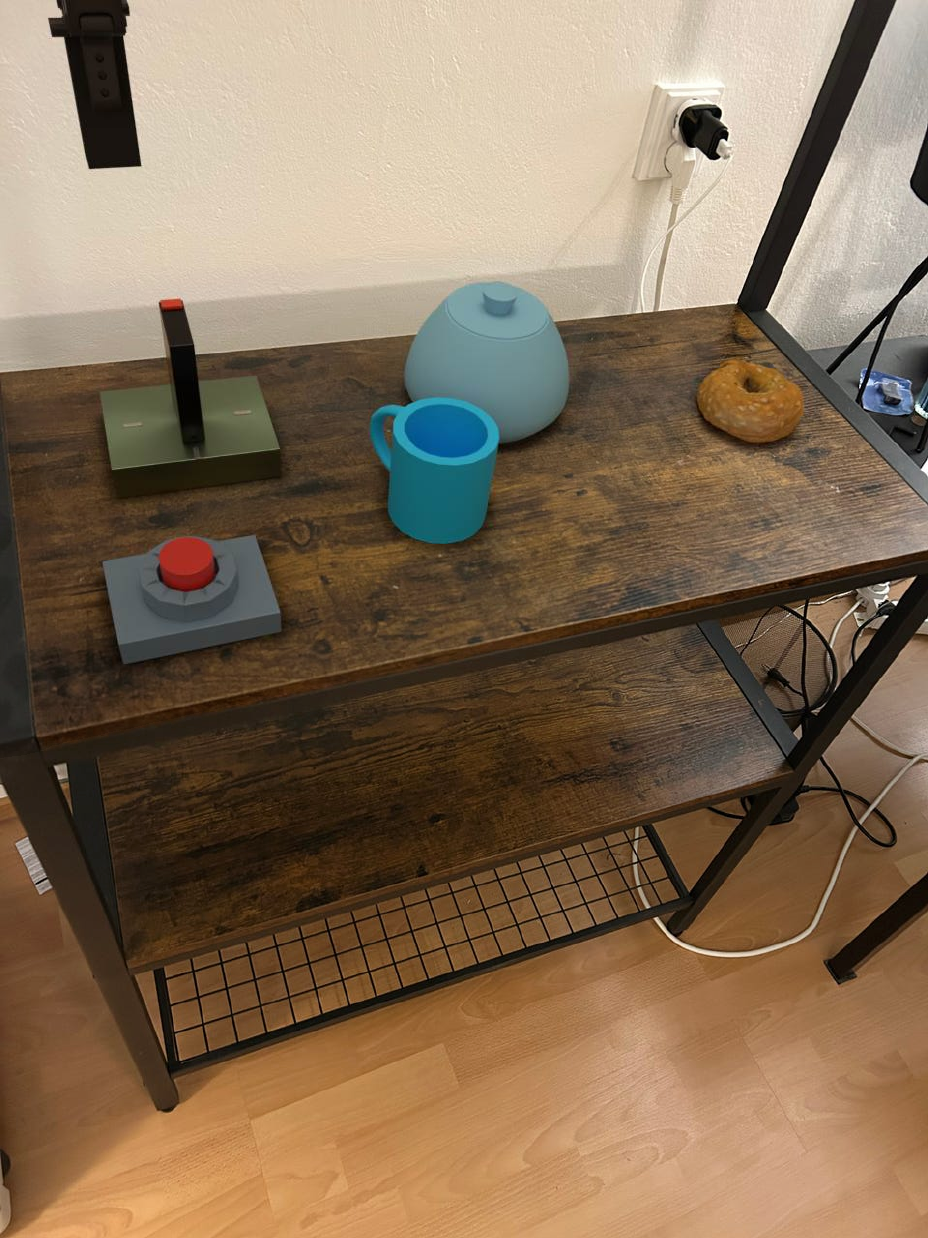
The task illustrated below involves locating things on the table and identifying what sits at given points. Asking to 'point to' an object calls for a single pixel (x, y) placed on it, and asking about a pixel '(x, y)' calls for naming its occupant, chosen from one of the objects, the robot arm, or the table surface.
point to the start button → (187, 564)
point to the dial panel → (163, 463)
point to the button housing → (191, 602)
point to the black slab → (182, 370)
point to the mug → (437, 467)
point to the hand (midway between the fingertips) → (113, 160)
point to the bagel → (750, 401)
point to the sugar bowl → (492, 357)
